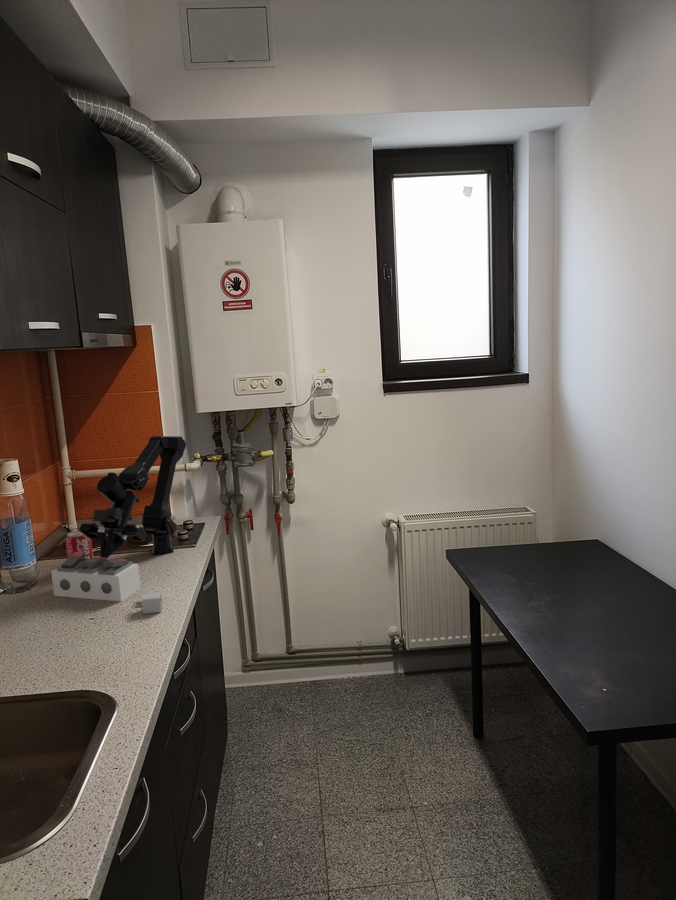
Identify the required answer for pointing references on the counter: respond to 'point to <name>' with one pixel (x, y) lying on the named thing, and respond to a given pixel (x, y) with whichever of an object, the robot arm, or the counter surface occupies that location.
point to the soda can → (78, 544)
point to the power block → (97, 581)
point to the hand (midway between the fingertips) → (102, 559)
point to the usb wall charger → (150, 603)
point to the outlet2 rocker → (94, 561)
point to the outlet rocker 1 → (74, 560)
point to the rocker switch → (115, 563)
